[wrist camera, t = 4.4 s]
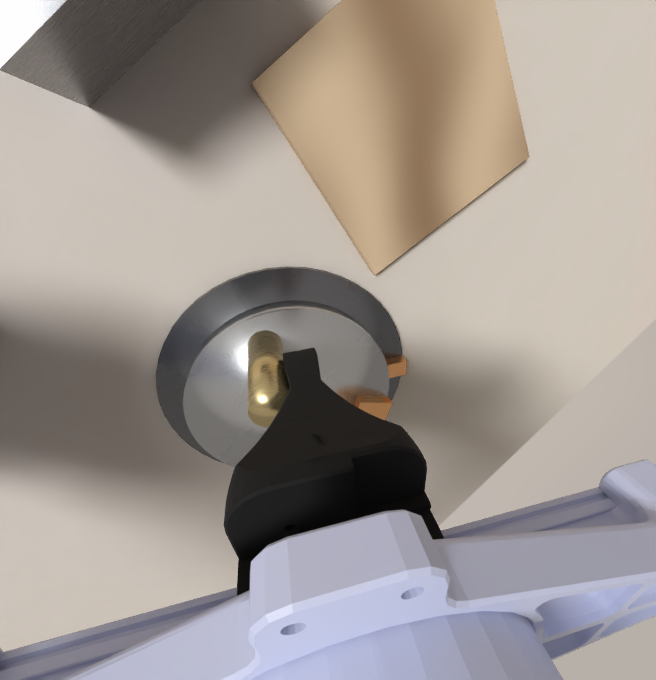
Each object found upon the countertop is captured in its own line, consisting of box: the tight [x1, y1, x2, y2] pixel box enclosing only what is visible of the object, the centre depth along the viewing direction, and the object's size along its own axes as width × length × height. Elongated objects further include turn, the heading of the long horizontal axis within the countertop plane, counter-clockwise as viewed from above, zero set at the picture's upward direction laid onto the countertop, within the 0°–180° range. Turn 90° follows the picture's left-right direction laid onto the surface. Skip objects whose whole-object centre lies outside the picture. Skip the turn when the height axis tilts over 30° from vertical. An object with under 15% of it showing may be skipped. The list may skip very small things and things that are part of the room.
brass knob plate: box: [183, 300, 392, 467], centre depth 15 cm, size 11×11×6 cm
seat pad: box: [252, 0, 529, 275], centre depth 13 cm, size 9×9×1 cm
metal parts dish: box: [156, 267, 407, 462], centre depth 17 cm, size 14×14×1 cm
